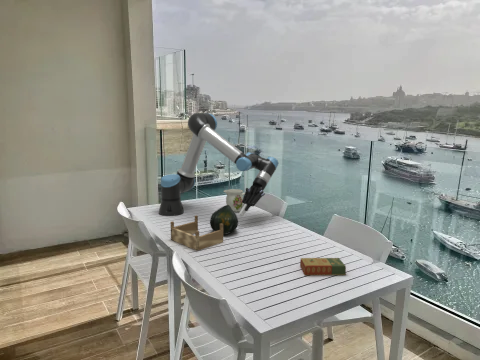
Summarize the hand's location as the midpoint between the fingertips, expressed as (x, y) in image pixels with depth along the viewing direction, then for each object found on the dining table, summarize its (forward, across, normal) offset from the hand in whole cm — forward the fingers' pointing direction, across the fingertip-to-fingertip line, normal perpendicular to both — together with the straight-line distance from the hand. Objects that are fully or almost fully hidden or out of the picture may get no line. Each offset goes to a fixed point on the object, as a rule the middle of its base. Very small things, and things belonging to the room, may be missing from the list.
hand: (241, 215), depth 189 cm
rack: (+26, +1, +17) cm, 31 cm away
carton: (+17, -60, +6) cm, 63 cm away
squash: (+14, +1, +4) cm, 14 cm away
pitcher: (-10, +26, -21) cm, 34 cm away
